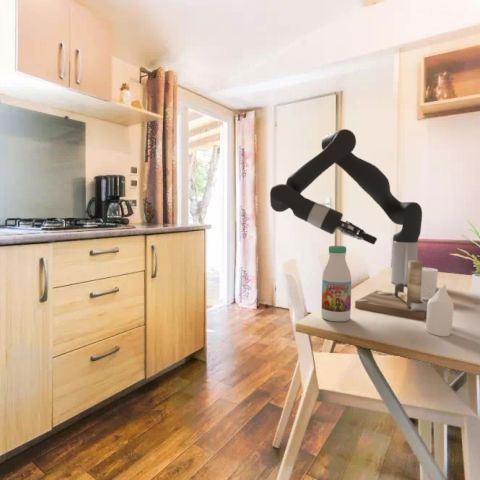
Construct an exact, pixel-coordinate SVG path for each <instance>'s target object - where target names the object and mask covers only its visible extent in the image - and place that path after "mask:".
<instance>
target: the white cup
mask: <svg viewBox="0 0 480 480" xmlns="http://www.w3.org/2000/svg"><path fill="white" fill-rule="evenodd" d="M438 275H439V269H437V268H432V267H425V266H424V267H423V266H422V280H421V297H424V298H432V297H433V296H434V295H435V294H436V292H437V285H438V284H437V283H438Z"/></svg>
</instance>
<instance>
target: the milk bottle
mask: <svg viewBox="0 0 480 480" xmlns="http://www.w3.org/2000/svg"><path fill="white" fill-rule="evenodd" d="M328 255H329V257H328V260H327V263H326V266H325V268H324V270H323V273H322V282H321V310H320V311H321V318H323V319H324V320H327V321H329V322H335V323H337V322H339V323H342V322H348V321H349V320H350V319H351V310H352V309H351V306H352V276H351V271H350V267H349V266H348V262H347V260H346V256H347V246H343V245H330V246H329V247H328Z"/></svg>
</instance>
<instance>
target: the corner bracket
mask: <svg viewBox="0 0 480 480" xmlns="http://www.w3.org/2000/svg"><path fill="white" fill-rule="evenodd" d="M411 310H412V311H427V303H426V302H424V301H423V300H421V301H420V303H411Z"/></svg>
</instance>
